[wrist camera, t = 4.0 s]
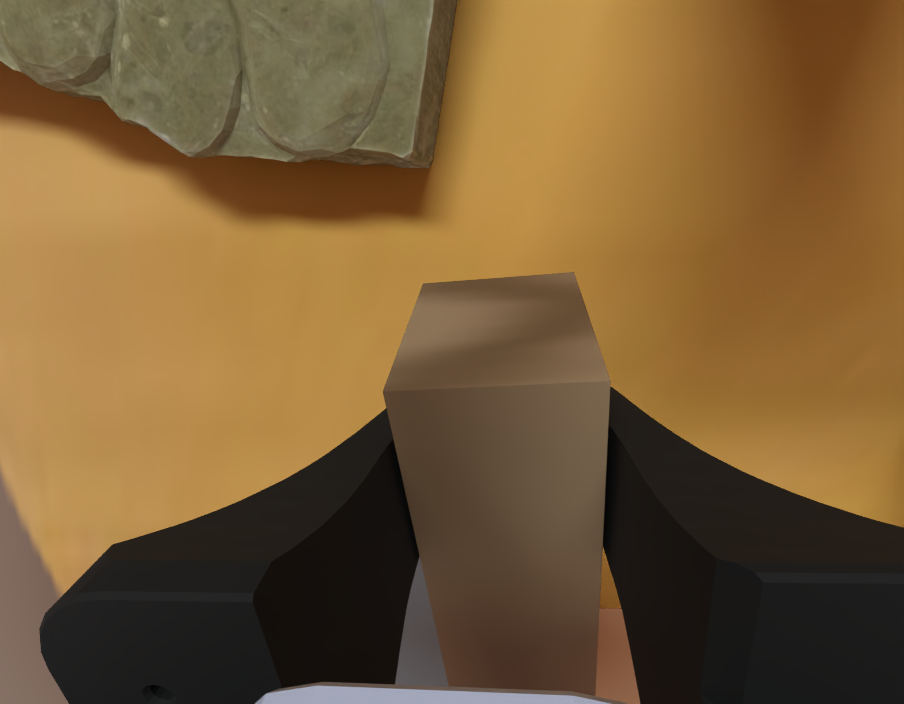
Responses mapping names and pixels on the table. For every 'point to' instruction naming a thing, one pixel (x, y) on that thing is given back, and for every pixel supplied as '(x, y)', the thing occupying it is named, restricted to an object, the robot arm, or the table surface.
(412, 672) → the mat
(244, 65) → the decorative tile
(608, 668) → the tile
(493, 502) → the brown wooden plank
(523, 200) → the table surface
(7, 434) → the table surface
